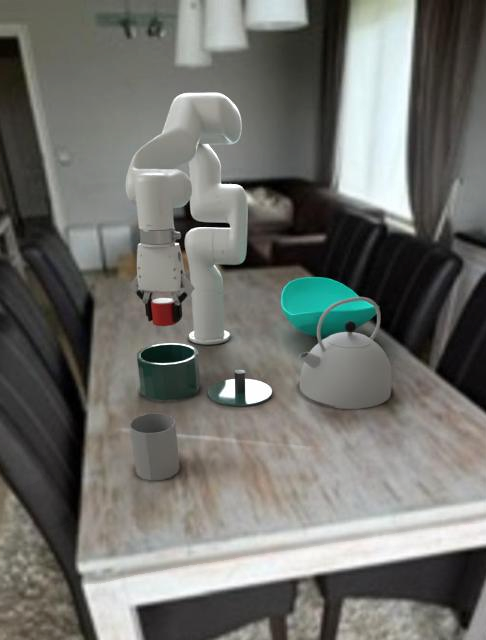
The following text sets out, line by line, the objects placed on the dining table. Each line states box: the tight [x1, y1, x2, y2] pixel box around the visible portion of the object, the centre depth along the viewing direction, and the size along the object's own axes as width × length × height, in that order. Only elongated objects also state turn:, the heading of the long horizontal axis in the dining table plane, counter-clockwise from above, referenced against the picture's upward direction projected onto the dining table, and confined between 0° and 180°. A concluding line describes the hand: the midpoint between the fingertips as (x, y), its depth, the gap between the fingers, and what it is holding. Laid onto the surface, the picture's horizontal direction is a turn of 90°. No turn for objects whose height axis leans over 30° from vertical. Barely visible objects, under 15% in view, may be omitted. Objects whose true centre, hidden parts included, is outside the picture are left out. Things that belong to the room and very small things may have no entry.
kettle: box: [299, 296, 393, 410], centre depth 135 cm, size 25×23×22 cm
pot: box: [136, 342, 201, 401], centre depth 140 cm, size 15×15×10 cm
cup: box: [129, 412, 180, 481], centre depth 107 cm, size 8×8×10 cm
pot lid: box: [207, 369, 273, 408], centre depth 137 cm, size 16×16×6 cm
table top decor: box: [280, 276, 380, 340], centre depth 173 cm, size 40×28×13 cm
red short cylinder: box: [151, 297, 177, 327], centre depth 131 cm, size 6×6×5 cm
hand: (164, 319), depth 132 cm, fingers closed on red short cylinder, 5 cm apart
